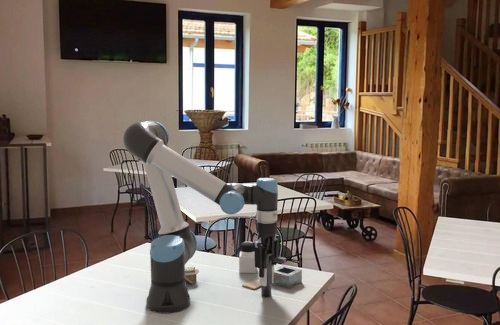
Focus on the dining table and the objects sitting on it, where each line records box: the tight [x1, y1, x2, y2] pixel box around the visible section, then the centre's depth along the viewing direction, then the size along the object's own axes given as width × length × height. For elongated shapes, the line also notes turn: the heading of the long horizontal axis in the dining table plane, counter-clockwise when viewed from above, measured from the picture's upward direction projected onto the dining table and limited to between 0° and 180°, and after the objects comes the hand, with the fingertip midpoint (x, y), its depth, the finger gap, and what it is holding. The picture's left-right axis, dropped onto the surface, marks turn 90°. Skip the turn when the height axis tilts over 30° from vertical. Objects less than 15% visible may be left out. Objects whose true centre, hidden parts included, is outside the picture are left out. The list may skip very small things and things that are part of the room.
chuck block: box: [271, 264, 303, 290], centre depth 200 cm, size 9×16×5 cm, turn 52°
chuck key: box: [260, 252, 287, 298], centre depth 183 cm, size 10×4×16 cm, turn 52°
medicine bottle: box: [238, 241, 257, 274], centre depth 212 cm, size 7×7×12 cm
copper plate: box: [241, 279, 261, 291], centre depth 196 cm, size 7×6×1 cm
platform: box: [185, 266, 200, 284], centre depth 197 cm, size 12×18×7 cm, turn 108°
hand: (266, 283), depth 185 cm, fingers closed on chuck key, 3 cm apart
